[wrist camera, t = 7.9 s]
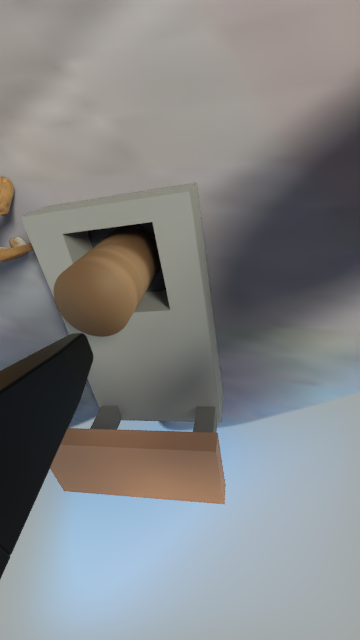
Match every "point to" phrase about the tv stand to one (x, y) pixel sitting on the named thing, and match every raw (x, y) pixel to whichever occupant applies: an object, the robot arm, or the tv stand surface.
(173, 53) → the tv stand surface
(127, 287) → the peg
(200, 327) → the socket block
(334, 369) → the tv stand surface
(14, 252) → the lion figurine
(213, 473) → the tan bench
